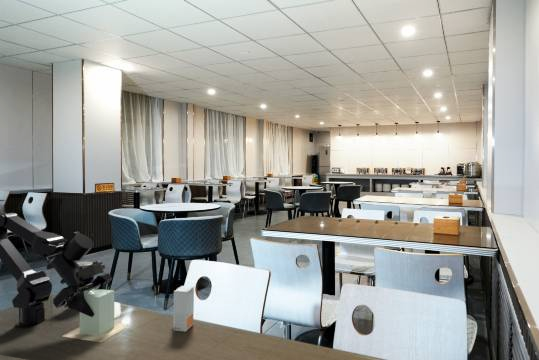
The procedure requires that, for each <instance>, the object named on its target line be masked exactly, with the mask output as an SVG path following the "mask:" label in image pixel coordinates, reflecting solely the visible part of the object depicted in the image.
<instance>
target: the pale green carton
mask: <svg viewBox="0 0 539 360" xmlns="http://www.w3.org/2000/svg"><path fill="white" fill-rule="evenodd" d="M84 299H85V300H86V302H87V303H88V305H89V306H90V308H91V309H92V311H93V312H94V316H93V317H90V316H88V315H86V314H83V313H81V312H79V327H80V333H81V334H88V335H95V336H100V335H102V334H104V333H106V332H107V331H109V330H111V329H112V328H114V323H115V290H113V289H106V290H104V289H93V290H91V291H88V292H86V293H84Z"/></svg>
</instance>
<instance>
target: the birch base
mask: <svg viewBox="0 0 539 360" xmlns="http://www.w3.org/2000/svg"><path fill="white" fill-rule="evenodd" d="M129 326H130V324H128V323H127V324H126V323H120V322H114V328H112V329H111V330H109V331H107V332H106V333H104V334H102V335H100V336H95V335H88V334H81V333H80V326H79V327H77V328H74V329H73V330H71V331H69V332H67V333H65V334H63V335H61V337H64V338H70V339H74V340H75V339H77V340H83V341H90V342H96V343H103V342H105V341H106V340H107V339H108V340H109V338H111V337H112V336H114V335H116V334H117V333H119V332H121V331H123V330H124V329H126V328H128V327H129Z"/></svg>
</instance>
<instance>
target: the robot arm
mask: <svg viewBox="0 0 539 360" xmlns="http://www.w3.org/2000/svg"><path fill="white" fill-rule="evenodd" d="M8 231H9V232H11V233H12V234H14V235H16V236H17V237H19V238H20V239H22V240H24V241H26V242H27V243H28V244H30V245H31V249H32V250H33V252H35V253H36V255H38V256H39V257H40V258H45V259H46V258H49V257H53V256H54V257H53V258H52V259H49V260H47V265H46V271H49V270H52V269H54V270H55V271H56V272H57V274H58V275H59V277H60V278H61V280H60V284H61V285H64V284H65V285H66V287H63V288H62V289H61V290H60V291H59V292H58V293H57V294H56V295H55V296H54V297H53V298H52V301H53V302H52V304H53V306H54V307H55V308H56V309H59V308H62V307H64V309H66V308H68V309H71V310H74V311H77V312H79V313H80V312H81V313H83V314H86V315H88V316H90V317H93V316H94V312H93V311H92V309H91V308H90V306H89V305H88V303H87V302H86V300H85V299H84V292H86V291H88V290H93V289H104V290H107V286H108V285H109V282H111V281H112V279H113V277H112V275H110V273H107V272H105V271H104V270H105V269H106V264H105V263H104V261H102V260H101V259H97V260H95V261H92V262H93V265H90V266H88V267H85V266H84V265H83V266H79V264H78V263H77V262H80V261H81V260H82V259H83V258H84V257H85V255H87V253H89V251H90V250H91V249H92V248H93V247H94V242H93V240H92V238H91V237H88V236H87V235H85V234H83V233H80V231H73V232H72V233H71V235H70V237H68V239H65V238H64V237H63V236H61V234H60V235H59V234H57V233H55V232H49V231H45V230H41V229H39V228H38V227H36V226H35V225H34V224H32V223H30V222H28V221H26V220H25V219H23V218H22V217H20V216H18V214H17V213H15V212H8V213H7V212H5V213H0V261H1V262H2V263H3V265H4V266H5V267H6V268H7V269H8V271H9V272H10V273H11V275H12V276H13V277H14V279H15V280H16V291H17V292H18V293H17V294H16V296H14V298H13V299H12V300H11V302H12V306H13V308H16V309H18V322H17V323H15V324H14V326H15V327H17V328H18V327H20V328H26V329H27V328H28V329H30V328H32V327H35V326H36V325H40V324H41V323H43V322H44V323H45V321H48V318H45V317H46V316H45V315H46V314H45V313H46V309H45V308H44V307H45V303H44V302H48V301H49V299H50V296H51V294H52V291H53V284H52V282H51V278H50V277H48V275H47V274H46V272H45V271H44V270H39V271H35V270H34V269H32V268H31V266H30V265H29V263H28V262H27V261H26V259H24V257H23V256H22V254H21V253H20V252H19V251H18V250H17V248H16V247H15V246H14V244H13V243H12V242H11V241H10V240H9V238H8ZM94 278H95V279H94ZM93 279H94V281H93V282H91V280H93Z"/></svg>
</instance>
